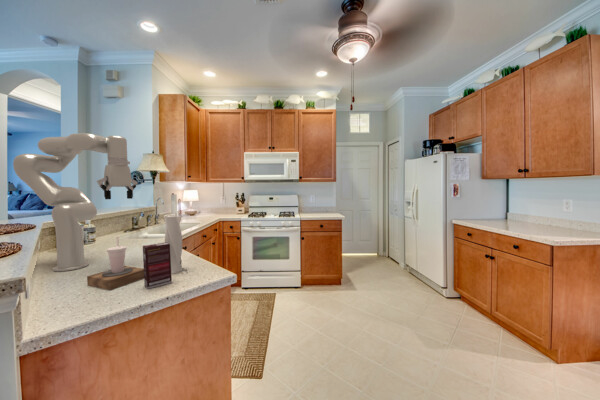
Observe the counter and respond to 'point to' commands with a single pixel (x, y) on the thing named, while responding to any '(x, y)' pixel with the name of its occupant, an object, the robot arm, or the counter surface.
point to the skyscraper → (174, 241)
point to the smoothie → (117, 257)
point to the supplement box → (157, 265)
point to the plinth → (115, 278)
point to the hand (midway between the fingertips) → (119, 198)
